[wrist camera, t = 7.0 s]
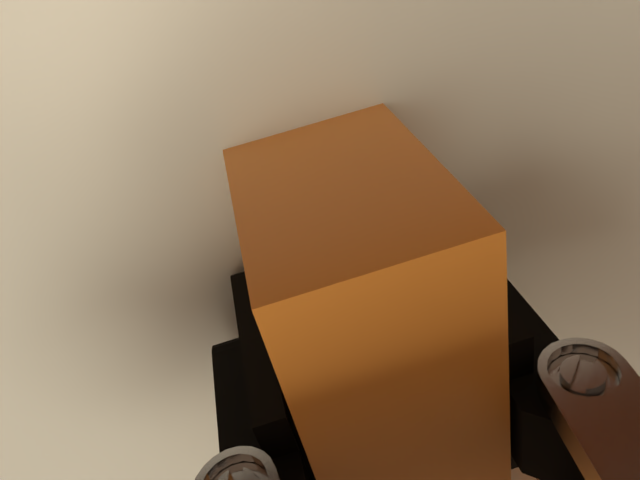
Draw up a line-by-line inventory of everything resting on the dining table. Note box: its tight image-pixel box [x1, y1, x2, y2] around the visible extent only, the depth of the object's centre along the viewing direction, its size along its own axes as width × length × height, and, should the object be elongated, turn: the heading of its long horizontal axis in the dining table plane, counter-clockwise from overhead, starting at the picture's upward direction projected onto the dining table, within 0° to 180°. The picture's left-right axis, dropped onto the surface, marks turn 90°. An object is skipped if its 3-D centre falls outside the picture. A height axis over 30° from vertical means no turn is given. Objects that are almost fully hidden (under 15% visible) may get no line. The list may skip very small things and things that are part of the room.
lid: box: [0, 0, 640, 480], centre depth 11 cm, size 18×14×6 cm
